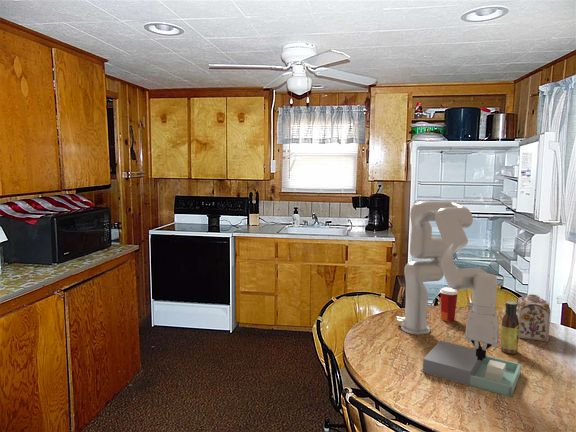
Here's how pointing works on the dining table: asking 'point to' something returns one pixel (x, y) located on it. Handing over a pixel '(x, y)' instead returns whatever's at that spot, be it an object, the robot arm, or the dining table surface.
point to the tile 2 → (493, 376)
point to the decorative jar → (533, 318)
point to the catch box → (502, 387)
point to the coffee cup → (448, 304)
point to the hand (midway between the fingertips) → (480, 359)
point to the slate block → (452, 362)
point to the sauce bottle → (510, 329)
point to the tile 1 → (496, 367)
